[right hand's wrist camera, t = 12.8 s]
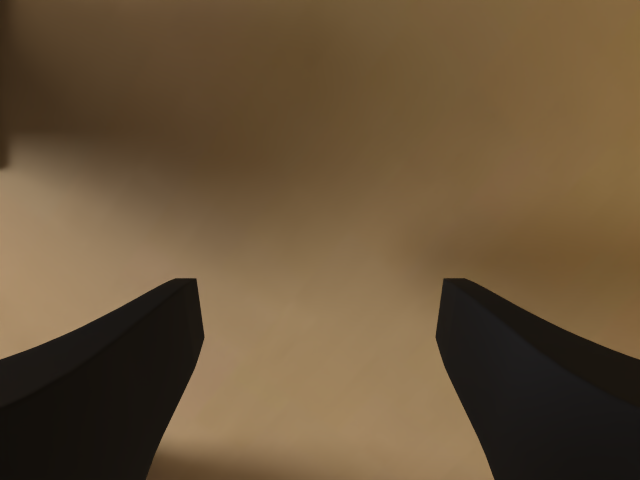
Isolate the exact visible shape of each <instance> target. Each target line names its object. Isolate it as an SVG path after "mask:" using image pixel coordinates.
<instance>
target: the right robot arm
mask: <svg viewBox="0 0 640 480" xmlns="http://www.w3.org/2000/svg"><path fill="white" fill-rule="evenodd" d="M203 341H204V330H203V323H202V316H201V308H200V301H199V294H198V287H197V280H196V278H175V279H173V280H170V281H168V282H166V283H164V284H162V285H160V286H158V287H156V288H154V289H153V290H151V291H149V292H147V293H145V294H143V295H142V296H140V297H138V298H136V299H134V300H133V301H131V302H129V303H127V304H125V305H123V306H122V307H120V308H118V309H116V310H114V311H112V312H110V313H108V314H106V315H104V316H102V317H100V318H98V319H96V320H94V321H92V322H90V323H89V324H87V325H85V326H83V327H80V328H78V329H76V330H74V331H72V332H70V333H67V334H65V335H63V336H61V337H58V338H56V339H54V340H51V341H49V342H46V343H44V344H42V345H39V346H37V347H34V348H32V349H29V350H26V351H24V352H21V353H18V354H15V355H12V356H9V357H7V358H4V359H1V360H0V480H146V477H147V474H148V471H149V469H150V466H151V463H152V460H153V457H154V455H155V453H156V450H157V448H158V446H159V443H160V441H161V439H162V436H163V434H164V432H165V430H166V428H167V426H168V424H169V422H170V420H171V418H172V415H173V413H174V411H175V409H176V407H177V405H178V403H179V401H180V399H181V397H182V395H183V393H184V390H185V388H186V386H187V384H188V382H189V380H190V378H191V375H192V373H193V371H194V369H195V366H196V363H197V360H198V357H199V354H200V351H201V347H202V344H203ZM436 341H437V344H438V347H439V351H440V354H441V357H442V360H443V363H444V366H445V369H446V371H447V373H448V375H449V378H450V380H451V382H452V384H453V386H454V388H455V390H456V393H457V395H458V397H459V399H460V401H461V403H462V405H463V407H464V409H465V411H466V413H467V415H468V418H469V420H470V422H471V424H472V426H473V428H474V430H475V432H476V434H477V436H478V439H479V441H480V443H481V446H482V448H483V450H484V453H485V455H486V457H487V460H488V463H489V466H490V469H491V471H492V474H493V477H494V480H640V360H639V359H636V358H633V357H630V356H627V355H625V354H622V353H619V352H617V351H614V350H611V349H609V348H606V347H604V346H601V345H599V344H597V343H594V342H592V341H589V340H587V339H584V338H582V337H580V336H577V335H575V334H573V333H571V332H568V331H566V330H564V329H562V328H560V327H558V326H556V325H554V324H552V323H550V322H548V321H546V320H544V319H541V318H539V317H538V316H536V315H534V314H532V313H530V312H528V311H526V310H524V309H522V308H520V307H519V306H517V305H515V304H513V303H511V302H509V301H508V300H506V299H504V298H502V297H500V296H499V295H497V294H495V293H493V292H491V291H490V290H488V289H486V288H484V287H482V286H480V285H478V284H476V283H474V282H472V281H470V280H467V279H465V278H444V280H443V287H442V294H441V301H440V308H439V316H438V323H437V330H436Z"/></svg>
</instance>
